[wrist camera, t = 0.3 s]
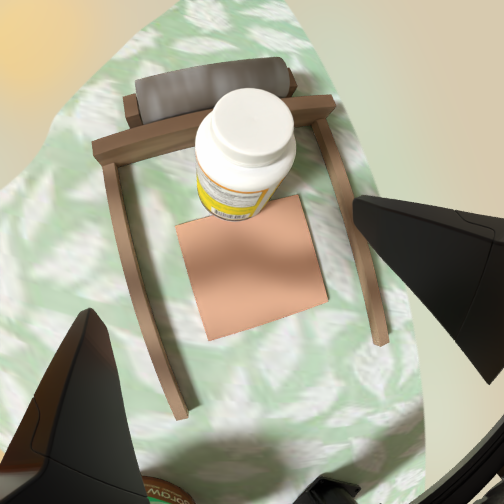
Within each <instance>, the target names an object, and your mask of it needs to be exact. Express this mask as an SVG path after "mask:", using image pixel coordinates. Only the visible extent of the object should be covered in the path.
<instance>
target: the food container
mask: <svg viewBox="0 0 504 504" xmlns="http://www.w3.org/2000/svg"><path fill="white" fill-rule="evenodd" d="M141 477H142V480H143V483H144V486H145V490H146V493H147V496H148V497H147V498H149V501H150V504H196V503H195V502H194V500H193V499H192V497H191V496H190V495H189V494H188V493H186V492H185V491H184V490H183V489H181V488H180V487H178V486H176V485H174V484H172V483H170V482H168V481H165V480H162V479H158V478H154V477H148V476H141Z"/></svg>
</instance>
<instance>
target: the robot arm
mask: <svg viewBox="0 0 504 504" xmlns="http://www.w3.org/2000/svg"><path fill="white" fill-rule="evenodd" d="M352 213H353V223H354V225H355V226H356V228H357V229H358V230H359V231H360V233H361V234H362V235H363V236H364V238H365V239H366V240H367V241H368V243H369V244H370V245H371V246H372V248H373V249H374V250H375V251H376V253H377V254H378V255H379V256H380V257H381V258H382V259H383V260H384V262H385V263H386V264H387V265H388V266H389V267H390V268H391V269H392V270H393V271H394V272H395V273H396V274H397V275H398V276H399V277H400V278H401V280H402V281H403V282H404V283H405V284H406V285H407V286H408V287H409V288H410V289H411V290H412V292H413V293H414V294H415V295H416V296H417V297H418V298H419V299H420V300H421V302H422V303H423V304H424V305H425V306H426V307H427V309H428V310H429V311H430V312H431V313H432V314H433V316H434V317H435V318H436V319H437V320H438V321H439V323H440V324H441V325H442V326H443V327H444V329H445V330H446V331H447V332H448V333H449V334H450V336H451V337H452V338H453V340H455V342H456V343H457V345H458V346H459V347H460V348H461V350H462V351H463V352H464V353H465V355H466V356H467V357H468V359H469V360H470V361H471V363H472V364H473V365H474V367H475V368H476V369H477V371H478V372H479V373H480V375H481V376H482V377H483V379H484V380H485V381H486V383H487V384H489V385H490V384H491V382H492V381H493V380H494V379H495V378H496V377H497V376H498V374H499V373H500V372H501V371H502V370H503V368H504V218H498V217H491V216H485V215H479V214H474V213H468V212H464V211H458V210H455V211H454V210H453V209H448V208H443V207H437V206H432V205H426V204H420V203H414V202H408V201H402V200H395V199H388V198H382V197H375V196H367V195H361V196H359V197H356V198H354V199H353V201H352ZM496 474H498V475H499V476H500V478H501V479H502V481H500V482H499V483H497V484H496V485H495V486H494V487H492V488H491V489H490V490H489V491H488V492H487V493H486V494H485V495H484V496H483V498H482V499H479V500H476V501H475V502H474V503H473V504H504V415H503V416H502V417H501V419H500V420H499V421H498V422H497V423H496V425H495V426H494V427H493V428H492V429H491V430H490V431H489V432H488V434H487V435H486V436H485V437H484V438H483V439H482V440H481V441H480V442H479V443H478V444H477V445H476V446H475V447H474V448H473V449H472V450H471V451H470V452H469V453H468V454H467V455H466V456H465V457H464V458H463V459H462V460H461V461H460V462H459V463H458V464H457V465H456V466H455V467H454V468H452V469H451V470H450V471H449V472H448V473H447V474H446V475H445V476H443V477H442V478H441V479H440V480H439V481H438V482H436V483H435V484H434V485H433V486H431V487H430V488H429V489H428V490H426V491H425V492H424V493H422V494H421V495H420V496H418V497H417V498H416V499H414V500H413V501H412V502H410V503H409V504H467V503H468V502H470V501H471V500H472V499H473V498H474V497H475V496H476V495H477V494H478V493H479V492H480V491H481V490H482V489H483V488H484V487H485V486H486V485H487V484H488V483H489V481H490V480H491V479H492V478H493V477H494V476H495V475H496ZM320 481H321V482H320ZM360 490H361V487H360V486H358V485H354V484H350V483H345V482H341V481H337V480H333V479H330V478H326V477H319V478H317V479H316V480H315V481H314V482H313V484H312V485H311V486H310V487H309V488H308V489H307V490H306V491H305V492H304V493H303V494H302V495H301V496H300V497H299V498H298V499H297V500H296V501H295V502H294V503H293V504H358V503H357V502H356V500H355V499H354V497H355V496H356V495H357V493H358V492H359V491H360ZM147 497H148V496H147V493H146V490H145V486H144V483H143V480H142V477H141V473H140V470H139V466H138V463H137V459H136V456H135V452H134V448H133V444H132V440H131V436H130V431H129V427H128V423H127V418H126V413H125V408H124V403H123V398H122V392H121V386H120V380H119V375H118V370H117V366H116V362H115V358H114V354H113V350H112V346H111V342H110V338H109V333H108V330H107V327H106V326H105V324H104V323H103V321H102V320H101V319H100V317H99V316H98V315H97V313H96V312H95V311H94V310H93V309H92V308H88V309H85V310H83V311H81V312H80V313H79V314H78V316H77V318H76V319H75V321H74V322H73V324H72V326H71V327H70V329H69V331H68V333H67V334H66V336H65V338H64V339H63V341H62V343H61V345H60V346H59V348H58V350H57V352H56V354H55V355H54V357H53V359H52V361H51V363H50V365H49V366H48V368H47V370H46V372H45V374H44V376H43V378H42V380H41V382H40V384H39V386H38V388H37V390H36V392H35V394H34V397H33V398H32V400H31V402H30V404H29V406H28V408H27V410H26V412H25V415H24V417H23V419H22V421H21V423H20V425H19V427H18V429H17V431H16V433H15V435H14V437H13V439H12V441H11V443H10V445H9V447H8V449H7V451H6V453H5V455H4V457H3V459H2V461H1V463H0V504H150V501H149V498H147ZM380 504H381V503H380Z"/></svg>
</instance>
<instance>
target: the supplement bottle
mask: <svg viewBox="0 0 504 504" xmlns="http://www.w3.org/2000/svg"><path fill="white" fill-rule="evenodd" d="M293 130H294V121H293V117H292V114H291V112H290V110H289V108H288V107H287V105H286V104H285V103H284V102H283V101H282V100H281V99H280V98H278V97H277V96H275V95H274V94H272V93H270V92H267V91H264V90H261V89H255V88H243V89H238V90H234V91H231V92H229V93H228V94H226V95H224V96H223V97H222V98H221V99H220V100H219V101H218V102H217V104H216V105H215V107H214V109H213V111H212V112H210V113H209V114H208V115H207V116H206V117H205V118H204V120H203V121H202V123H201V124H200V126H199V128H198V131H197V134H196V140H195V154H196V172H197V190H198V195H199V198H200V200H201V202H202V204H203V206H204V207H205V208H206V209H207V211H209V212H210V213H211V214H212V215H214V216H215V217H217V218H219V219H222V220H225V221H230V222H239V221H244V220H247V219H250V218H252V217H254V216H255V215H257V214H258V213H259V212H260V211H261V210H262V209H263V208H264V206H265V205H266V204H267V202H268V201H269V199H270V198H271V196H272V195H273V193H274V192H275V191H276V189H277V188H278V186H279V185H280V183H281V182H282V181H283V179H284V178H285V177H286V175H287V174H288V172H289V171H290V169H291V167H292V165H293V162H294V160H295V156H296V140H295V137H294V134H293Z"/></svg>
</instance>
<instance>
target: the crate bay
mask: <svg viewBox="0 0 504 504" xmlns="http://www.w3.org/2000/svg"><path fill="white" fill-rule="evenodd" d="M135 87H136V93H137V97H136V93H135V94H131V95H128V96H124V97H123V102H124V110H125V117H126V120H127V122H128V125H129V127H130V129H128V130H125V131H122V132H119V133H115V134H112V135H109V136H106V137H103V138H100V139H97V140H95V141H92V149H93V156H94V157H95V159H96V160H97V161H98V162H99V163H100V164H101V166H102V169H103V175H104V181H105V188H106V193H107V199H108V204H109V210H110V215H111V220H112V224H113V229H114V234H115V238H116V243H117V247H118V251H119V255H120V259H121V263H122V267H123V271H124V275H125V278H126V282H127V286H128V289H129V293H130V296H131V300H132V303H133V306H134V310H135V313H136V316H137V319H138V322H139V325H140V328H141V332H142V334H143V337H144V340H145V343H146V346H147V349H148V352H149V355H150V357H151V360H152V363H153V365H154V368H155V371H156V373H157V376H158V378H159V381H160V383H161V386H162V388H163V391H164V393H165V396H166V398H167V400H168V403H169V405H170V408H171V410H172V412H173V414H174V417H175V419H176V421H177V420H182V419H186V418H188V413H189V411H188V409H187V407H186V404H185V402H184V399H183V397H182V394H181V392H180V390H179V387H178V384H177V382H176V379H175V377H174V374H173V371H172V369H171V366H170V363H169V361H168V358H167V355H166V352H165V349H164V347H163V344H162V341H161V338H160V335H159V332H158V329H157V326H156V323H155V320H154V317H153V313H152V310H151V307H150V304H149V300H148V297H147V294H146V290H145V287H144V283H143V280H142V276H141V272H140V269H139V265H138V261H137V257H136V253H135V249H134V245H133V241H132V237H131V233H130V228H129V224H128V219H127V215H126V210H125V205H124V200H123V195H122V190H121V184H120V179H119V173H118V167H121V166H125V165H128V164H131V163H134V162H138V161H141V160H145V159H148V158H152V157H155V156H159V155H163V154H166V153H170V152H174V151H178V150H182V149H186V148H190V147H194V146H195V140H196V134H197V131H198V128H199V126H200V124H201V123H202V121H203V120H204V118H205V117H206V116H207V115H208V114H209V113H210V112H212V111H213V109H214V107H215V105H216V104H217V102H218V101H219V100H220V99H221V98H222V97H223V96H224V95H226V94H228V93H229V92H231V91H234V90H238V89H243V88H255V89H261V90H264V91H267V92H270V93H272V94H274V95H275V96H277V97H278V98H280V99H281V100H282V101H283V102H284V103H285V104H286V105H287V107H288V108H289V110H290V112H291V114H292V117H293V121H294V128H296V127H303V126H312V129H313V132H314V134H315V137H316V140H317V142H318V145H319V148H320V150H321V153H322V156H323V159H324V162H325V165H326V167H327V170H328V173H329V176H330V179H331V182H332V185H333V188H334V191H335V194H336V198H337V201H338V204H339V207H340V210H341V214H342V217H343V220H344V224H345V227H346V231H347V234H348V238H349V241H350V245H351V248H352V252H353V256H354V260H355V263H356V267H357V271H358V275H359V279H360V283H361V287H362V292H363V296H364V300H365V305H366V309H367V314H368V318H369V323H370V328H371V333H372V338H373V343H374V344H375V345H378V346H380V347H381V346H383V345H385V344H387V343H389V336H388V330H387V325H386V320H385V315H384V310H383V305H382V300H381V295H380V291H379V286H378V282H377V278H376V274H375V269H374V265H373V261H372V257H371V254H370V250H369V246H368V242H367V240H366V239H365V238H364V236H363V235H362V234H361V233H360V231H359V230H358V229H357V228H356V226H355V225H354V223H353V213H352V201H353V199H354V195H353V192H352V189H351V186H350V183H349V180H348V177H347V174H346V171H345V168H344V165H343V163H342V160H341V157H340V154H339V151H338V149H337V146H336V143H335V141H334V138H333V136H332V133H331V130H330V128H329V125H328V123H327V120H326V118H327V117H328V115H329V114H330V113H331V112H332V111H333V110H334V109H335V107H336V104H335V102H334V100H333V97H332V95H314V96H301V97H292V95H293V93H294V91H295V90H296V88H297V83H296V81H295V79H294V77H293V74H292V72H291V70H290V68H287V66H286V64H285V62H284V60H283V59H282V58H280V57H269V58H256V59H246V60H237V61H229V62H221V63H214V64H208V65H202V66H196V67H191V68H186V69H181V70H176V71H171V72H167V73H162V74H158V75H154V76H150V77H146V78H142V79H139V80H135ZM137 99H138V100H137ZM175 228H176V232H177V236H178V240H179V243H180V247H181V251H182V254H183V258H184V262H185V265H186V269H187V272H188V276H189V279H190V283H191V286H192V289H193V293H194V296H195V299H196V303H197V306H198V309H199V312H200V316H201V319H202V322H203V325H204V328H205V331H206V335H207V338H208V341H211V340H215V339H218V338H221V337H225V336H228V335H231V334H235V333H238V332H241V331H244V330H247V329H251V328H254V327H257V326H260V325H263V324H266V323H269V322H272V321H275V320H278V319H281V318H284V317H287V316H290V315H292V314H295V313H298V312H301V311H304V310H307V309H309V308H312V307H315V306H318V305H320V304H323V303H326V302H328V298H327V294H326V290H325V286H324V283H323V279H322V275H321V271H320V268H319V264H318V260H317V257H316V253H315V250H314V246H313V243H312V239H311V236H310V232H309V229H308V226H307V222H306V219H305V216H304V212H303V209H302V206H301V202H300V199H299V196H298V195H293V196H289V197H285V198H281V199H276V200H272V201H268V202H267V204H266V205H265V206H264V208H263V209H262V210H261V211H260V212H259V213H258V214H257V215H255V216H254V217H252V218H250V219H247V220H244V221H239V222H230V221H225V220H222V219H219V218H217V217H215V216H214V215H213V216H209V217H205V218H202V219H198V220H194V221H191V222H187V223H184V224H180V225H176V226H175Z"/></svg>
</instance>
